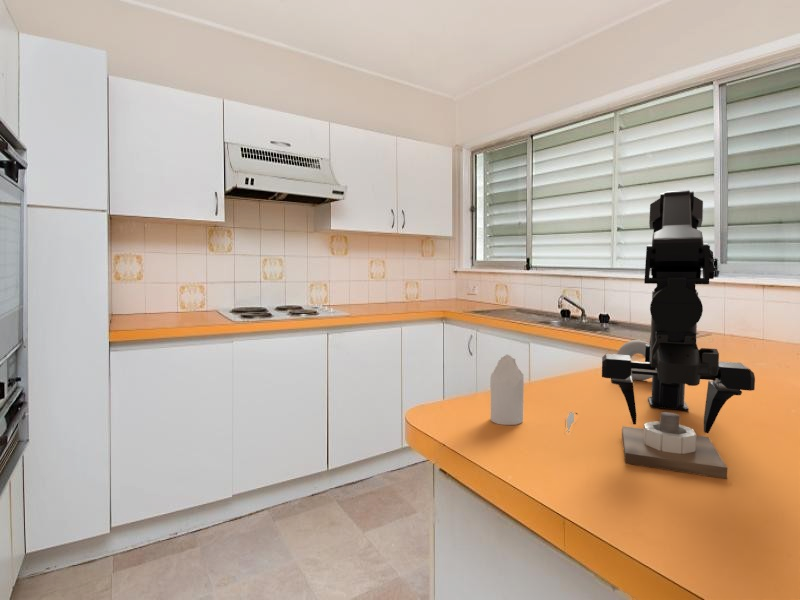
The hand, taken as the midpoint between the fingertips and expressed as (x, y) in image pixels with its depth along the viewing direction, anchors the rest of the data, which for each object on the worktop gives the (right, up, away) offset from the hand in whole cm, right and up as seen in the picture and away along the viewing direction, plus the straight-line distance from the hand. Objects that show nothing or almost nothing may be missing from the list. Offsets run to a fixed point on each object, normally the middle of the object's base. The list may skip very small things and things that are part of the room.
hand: (669, 428), depth 68 cm
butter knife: (-12, -4, +8) cm, 15 cm away
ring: (0, -3, 0) cm, 2 cm away
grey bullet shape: (-20, -3, +16) cm, 26 cm away
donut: (+19, -1, +45) cm, 49 cm away
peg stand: (0, -4, 0) cm, 4 cm away
